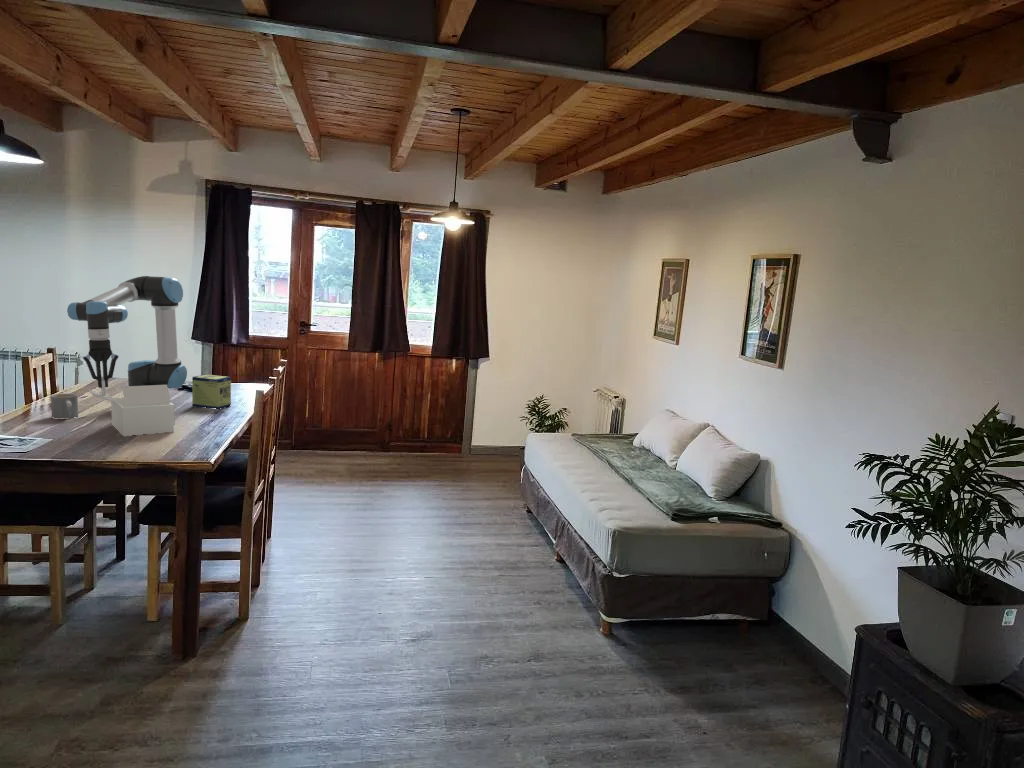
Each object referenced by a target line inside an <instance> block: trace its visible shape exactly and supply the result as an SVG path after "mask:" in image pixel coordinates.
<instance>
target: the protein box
mask: <svg viewBox="0 0 1024 768" xmlns="http://www.w3.org/2000/svg"><path fill="white" fill-rule="evenodd" d="M191 380H192V383H191V385H192V391H191V392H192V394H191V395H192V396H191V397H192V402H191V403H192V406H191V407H193V406H196V407H195V408H201V407H206V408H205V409H209V408H216V409H215V410H217V409H219V410H221V409H220V408H222V409H225V408H224V407H226V408H228V407H227V406H230V405H231V406H232V400H231V399H232V377H231V376H224V375H223V376H222V375H214V374H202V375H196V376H192V379H191ZM231 406H230V407H231Z"/></svg>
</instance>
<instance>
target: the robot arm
mask: <svg viewBox="0 0 1024 768" xmlns="http://www.w3.org/2000/svg"><path fill="white" fill-rule="evenodd" d="M183 298H184V289H183V286H182V284H181V282H179V280H178V279H176V278H174V277H168V276H149V275H141V276H137V277H133V278H130V279H128V280H125V281H123V282H121V283H119V284H118V286H117V287H115V288H113V289H111V290H108V291H106V292H103V293H101V294H99V295H97V296H94V297H92V298H89V299H88V300H85V301H82V302H79V301H78V302H71V303H69V304H68V306H67V309H66V312H67V316H68V318H70V320H74V321H79V322H81V321H82V322H87V333H88V334H87V335H88V339H89V340H88V346H89V350H88V354H86V355H85V356H83V357H82V359H83V360H84V362H85V363H86V366H87V368H88V370H89V373H90V375H91V378H92V379H94V380H97V387H98V388H99V389H100V390H101V391H100V392H101V393H100V394H102V395H103V396H106V395H107V391H106V389H107V388H109V379H112V378H113V376H114V373H115V367H116V363H117V360H118V359H119V355H117V354H115V353H113V351H112V348H111V347H112V346H111V340H110V337H111V336H110V327H109V325H110V324H115V323H117V324H118V323H121V322H124V321H126V320H127V318H128V316H129V312H128V310H127V308H126V307H125V306H124V304H126V303H132V302H135V301H146V302H147V301H148V302H150V305H151V307H152V308H153V309H154V311H155V331H156V344H157V345H156V346H157V347H156V348H157V358H156V359H155V360H154V359H147V360H146V359H143V360H136V361H135V360H134V361H132V362H131V361H130V362H129V363H128V367H127V377H128V379H127V381H128V385H127V386H148V385H167V387H168V390H169V389H170V390H171V389H180V388H182V387H183V386H184V384H185V382H186V380H187V377H188V369H187V367H186V366H185V365H183V364H182V360H181V358H179V356H178V344H177V343H178V342H177V341H178V340H177V337H178V336H177V321H176V309H177V308H178V307H179V303H180V302H182V301H183ZM110 358H111V360H110V365H109V370H108V360H109V359H110ZM91 359H92V360H93V361H94V362H95V369H96V370H94V367H93V365H92V362H91ZM101 364H102V369H101ZM95 371H96V372H95Z"/></svg>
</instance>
